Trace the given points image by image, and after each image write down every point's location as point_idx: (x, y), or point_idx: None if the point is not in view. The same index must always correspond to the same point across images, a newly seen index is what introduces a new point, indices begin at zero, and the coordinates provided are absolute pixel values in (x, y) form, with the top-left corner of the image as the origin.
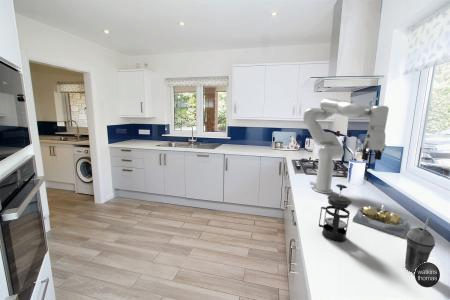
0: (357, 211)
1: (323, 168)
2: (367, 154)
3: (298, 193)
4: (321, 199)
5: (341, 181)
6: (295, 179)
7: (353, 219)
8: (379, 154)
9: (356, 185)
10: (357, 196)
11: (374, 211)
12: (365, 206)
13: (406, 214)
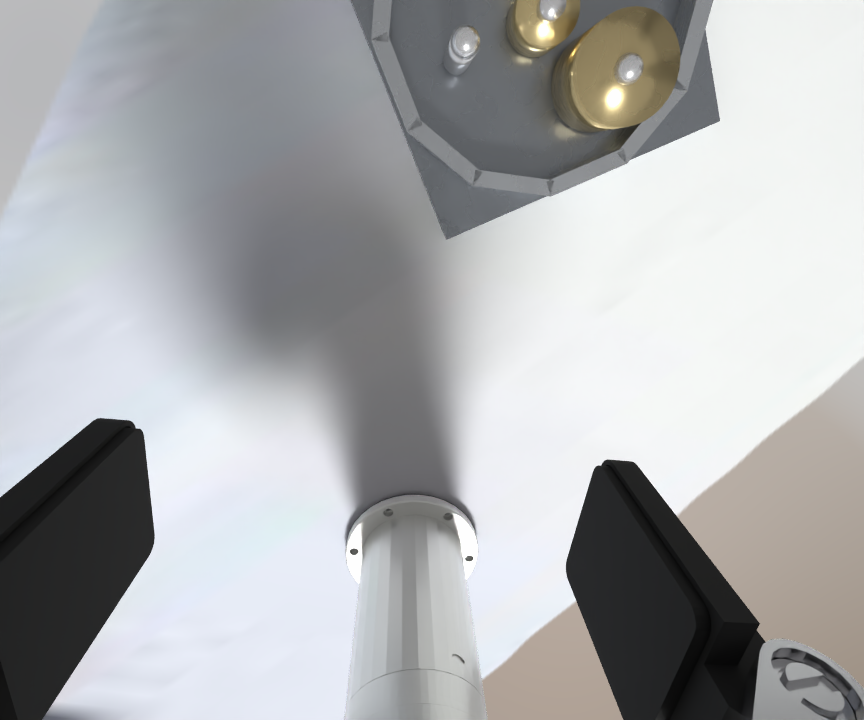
0: (626, 159)
1: (482, 708)
2: (722, 591)
3: None
4: (566, 439)
5: None
6: None
7: (714, 117)
8: (36, 568)
9: None
10: (238, 406)
11: (651, 11)
12: (627, 113)
13: (146, 23)
